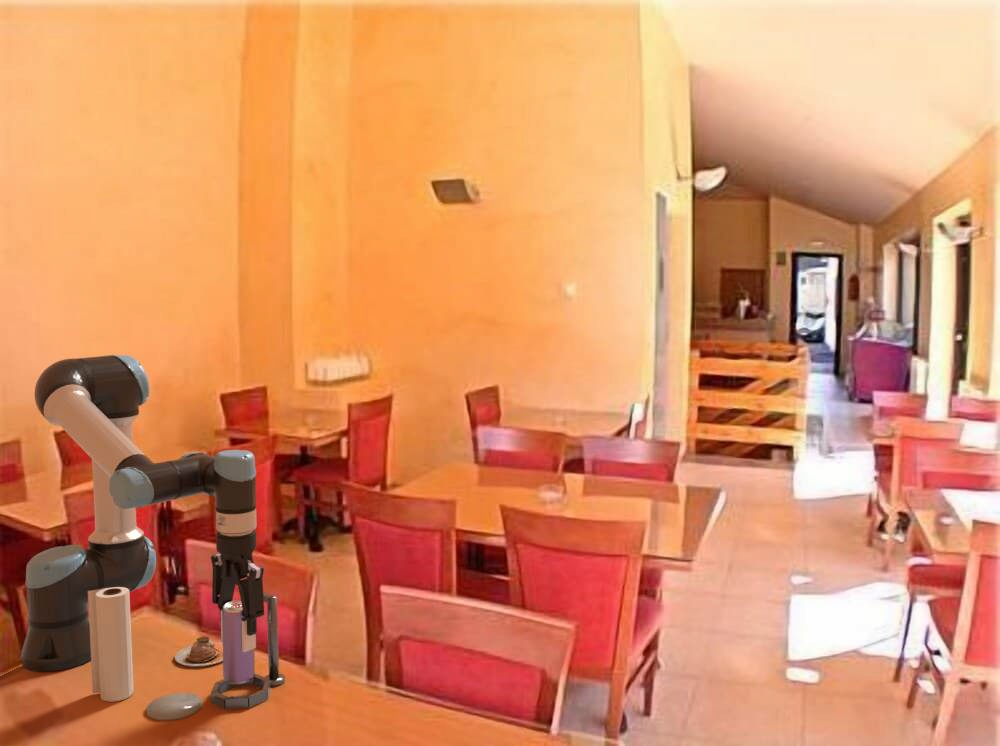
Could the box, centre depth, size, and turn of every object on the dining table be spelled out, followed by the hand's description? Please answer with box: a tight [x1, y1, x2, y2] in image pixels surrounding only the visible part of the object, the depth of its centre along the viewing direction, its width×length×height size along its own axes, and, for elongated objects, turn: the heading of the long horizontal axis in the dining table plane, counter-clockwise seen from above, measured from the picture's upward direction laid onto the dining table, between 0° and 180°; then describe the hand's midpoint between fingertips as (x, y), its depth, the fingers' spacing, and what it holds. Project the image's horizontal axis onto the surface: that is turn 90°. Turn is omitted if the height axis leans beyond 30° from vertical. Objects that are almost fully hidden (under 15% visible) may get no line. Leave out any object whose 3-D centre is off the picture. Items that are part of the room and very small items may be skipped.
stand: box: [210, 591, 286, 710], centre depth 181 cm, size 11×16×18 cm
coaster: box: [145, 692, 203, 721], centre depth 175 cm, size 10×10×1 cm
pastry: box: [174, 636, 223, 668], centre depth 198 cm, size 12×12×5 cm
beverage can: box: [222, 599, 256, 684], centre depth 179 cm, size 6×6×15 cm
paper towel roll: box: [88, 587, 134, 703], centre depth 180 cm, size 7×6×21 cm
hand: (238, 644), depth 179 cm, fingers closed on beverage can, 6 cm apart
